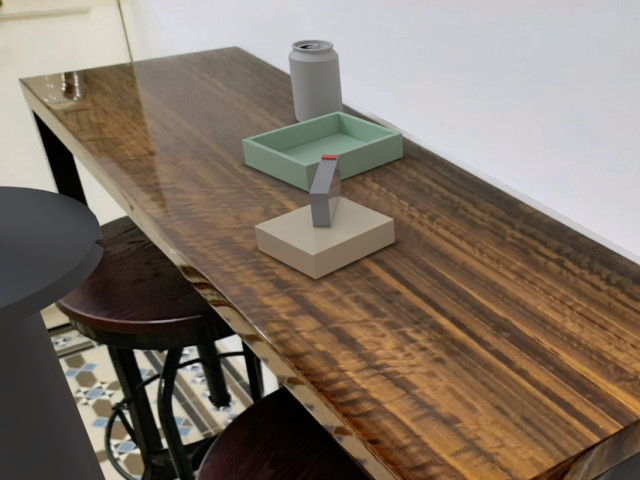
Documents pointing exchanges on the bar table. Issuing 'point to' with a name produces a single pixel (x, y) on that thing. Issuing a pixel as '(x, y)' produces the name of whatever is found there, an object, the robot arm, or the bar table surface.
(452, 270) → the bar table surface
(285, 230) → the block
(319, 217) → the slate gray plank
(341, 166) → the green tray
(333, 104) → the can
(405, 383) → the bar table surface
